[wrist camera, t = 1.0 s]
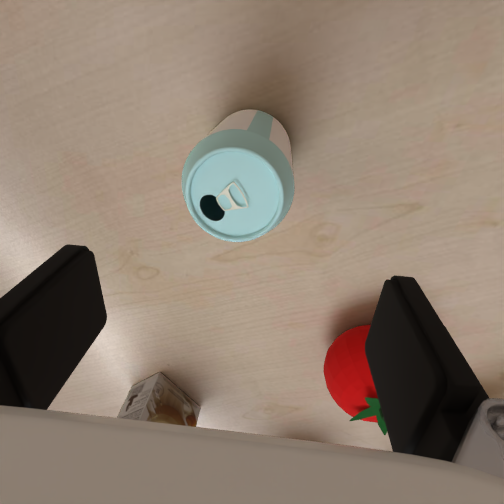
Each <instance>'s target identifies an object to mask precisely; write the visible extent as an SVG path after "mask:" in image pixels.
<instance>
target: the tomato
mask: <svg viewBox="0 0 504 504" xmlns="http://www.w3.org/2000/svg"><path fill="white" fill-rule="evenodd" d="M370 326H371V325H364V326H358V327H355V328H352V329H349V330H347V331H345V332H344V333H343V334H341V335H340V336H338V337H337V338H336V339H335V341H334V342H333V343H332V345H331V346H330V347H329V349H328V351H327V355H326V358H325V362H324V375H325V380H326V384H327V388H328V390H329V392H330V394H331V396H332V398H333V399H334V400H335V402H336V403H337V404H338V406H340V407H341V408H342V409H343V410H344V411H345V412H346V413H348V414H349V415H351V416H352V417H353V418H352V419H351V420H350V421H354V420H359V419H360V420H363V421H370V422H378V425H379V427H380V428H381V430H382V432H383V434H384V435H386V433H387V428H386V424H385V421H384V417H383V414H382V410H381V407H380V403H379V400H378V396H377V393H376V389H375V386H374V382H373V379H372V375H371V372H370V368H369V365H368V361H367V358H366V354H365V342H366V339H367V335H368V332H369V329H370Z"/></svg>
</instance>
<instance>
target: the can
mask: <svg viewBox="0 0 504 504" xmlns="http://www.w3.org/2000/svg"><path fill="white" fill-rule="evenodd" d="M182 191H183V196H184V199H185V202H186V204H187V207H188V209H189V212H190V214H191V216H192V217H193V219H194V220H195V221H196V223H197V224H198V225H199V226H200V227H201V228H202V229H203V230H205V231H206V232H207V233H209V234H210V235H212V236H214V237H216V238H219V239H222V240H225V241H231V242H244V241H249V240H253V239H255V238H258V237H260V236H262V235H263V234H265V233H267V232H269V231H270V230H272V229H273V228H275V227H276V226H277V225H278V224H279V223H280V222H281V221H282V220H283V219H284V217H285V216H286V214H287V213H288V211H289V209H290V206H291V204H292V201H293V196H294V175H293V165H292V155H291V145H290V140H289V137H288V135H287V133H286V131H285V129H284V127H283V126H282V125H281V124H280V122H279V121H278V120H277V119H275V118H274V117H273V116H271V115H269V114H267V113H265V112H263V111H259V110H252V109H248V110H241V111H237V112H235V113H233V114H231V115H229V116H228V117H226V118H225V119H224V120H223V121H222V122H221V123H219V124H218V125H217V126H216V127H215V128H214V129H213V130H212V131H211V132H210V133H209V134H208V135H207V136H205V137H204V138H203V139H202V140H201V141H200V142H199V143H198V144H197V145H196V146H195V147H194V148H193V150H192V151H191V152H190V154H189V156H188V157H187V159H186V162H185V164H184V168H183V172H182Z"/></svg>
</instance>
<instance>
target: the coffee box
mask: <svg viewBox="0 0 504 504" xmlns="http://www.w3.org/2000/svg"><path fill="white" fill-rule="evenodd" d="M200 409H201V408H200V407H199V406H198V405H197V404H196V403H195V402H194V401H193V400H192V399H190V398H189V397H188V396H187V395H186V394H185V393H183V392H182V391H181V390H180V389H179V388H178V387H177V386H175V385H174V384H173V383H172V382H171V381H170V380H169V379H167V378H166V377H165V376H164V375H163V374H162V373H160V372H159V373H157V374H155V375H153V376H151V377H149V378H147V379H146V380H144V381H142V382H140V383H138V384H136V385H134V386H132V387H131V389H130V391H129V393H128V395H127V398H126V400H125V402H124V404H123V406H122V408H121V410H120V412H119V414H118V416H117V418H123V419H131V420H140V421H149V422H157V423H166V424H174V425H183V426H191V427H196V424H197V420H198V416H199V412H200Z"/></svg>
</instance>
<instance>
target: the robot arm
mask: <svg viewBox="0 0 504 504" xmlns="http://www.w3.org/2000/svg"><path fill="white" fill-rule="evenodd" d="M106 320H107V314H106V309H105V304H104V300H103V295H102V290H101V285H100V281H99V276H98V271H97V266H96V261H95V257H94V253H93V252H92V251H89V249H88V248H87V247H86V246H79V245H65V246H64V247H62V248H61V249H60V250H59V251H58V252H56V253H55V254H54V255H53V256H52V257H50V258H49V259H48V260H47V261H45V262H44V263H43V264H42V265H41V266H39V267H38V268H37V269H36V270H34V271H33V272H32V273H31V274H30V275H28V276H27V277H26V278H25V279H23V280H22V281H21V282H20V283H19V284H17V285H16V286H15V287H14V288H12V289H11V290H10V291H9V292H8V293H6V294H5V295H4V296H3V297H2V298H0V504H504V400H503V399H495V398H491V399H490V398H489V397H488V395H487V393H486V392H485V390H484V389H483V387H482V385H481V384H480V382H479V381H478V379H477V377H476V376H475V374H474V372H473V371H472V369H471V368H470V366H469V364H468V363H467V361H466V360H465V358H464V356H463V355H462V353H461V352H460V350H459V348H458V347H457V345H456V344H455V342H454V340H453V339H452V337H451V335H450V334H449V332H448V331H447V329H446V327H445V326H444V325H443V323H442V322H441V320H440V319H439V317H438V315H437V314H436V312H435V310H434V309H433V307H432V306H431V304H430V302H429V301H428V299H427V298H426V296H425V294H424V293H423V291H422V290H421V288H420V286H419V285H418V283H417V281H416V280H415V279H414V278H413V277H404V276H393V277H392V278H391V280H386V281H385V283H384V285H383V289H382V292H381V295H380V298H379V301H378V304H377V307H376V310H375V314H374V317H373V320H372V323H371V326H370V329H369V332H368V335H367V339H366V342H365V354H366V358H367V361H368V365H369V368H370V372H371V375H372V379H373V382H374V386H375V389H376V393H377V396H378V400H379V403H380V407H381V410H382V414H383V417H384V421H385V424H386V428H387V431H388V435H389V438H390V442H391V445H392V449H393V452H390V451H383V450H376V449H369V448H362V447H354V446H347V445H339V444H331V443H323V442H315V441H307V440H299V439H291V438H283V437H275V436H266V435H258V434H250V433H242V432H234V431H225V430H217V429H208V428H200V427H191V426H183V425H174V424H166V423H157V422H149V421H140V420H131V419H123V418H114V417H105V416H96V415H87V414H78V413H69V412H60V411H51V410H47V408H48V407H49V406H50V404H51V403H52V401H53V400H54V398H55V397H56V395H57V394H58V392H59V391H60V390H61V388H62V387H63V385H64V384H65V382H66V381H67V379H68V378H69V377H70V375H71V374H72V372H73V371H74V369H75V368H76V366H77V365H78V363H79V362H80V361H81V359H82V358H83V356H84V355H85V353H86V352H87V350H88V349H89V348H90V346H91V345H92V343H93V342H94V340H95V339H96V337H97V336H98V334H99V333H100V332H101V330H102V329H103V327H104V326H105V323H106Z"/></svg>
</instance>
